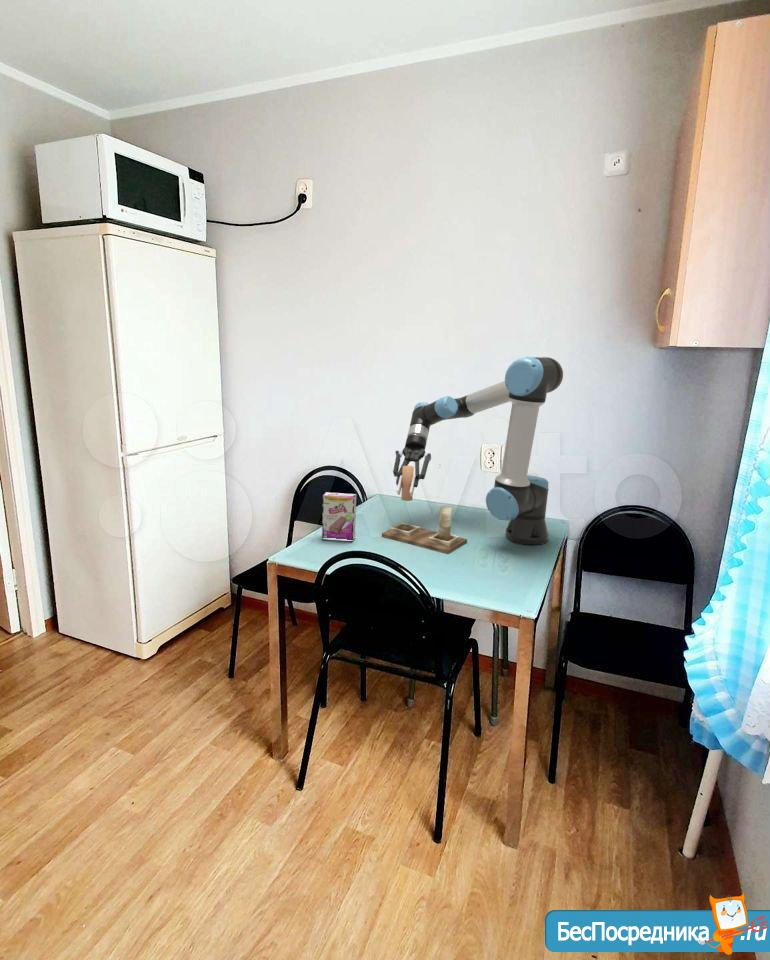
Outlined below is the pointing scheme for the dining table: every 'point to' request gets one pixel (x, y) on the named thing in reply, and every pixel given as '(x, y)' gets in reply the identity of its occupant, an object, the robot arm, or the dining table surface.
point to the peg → (407, 482)
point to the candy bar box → (339, 516)
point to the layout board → (428, 534)
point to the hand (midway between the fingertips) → (404, 493)
